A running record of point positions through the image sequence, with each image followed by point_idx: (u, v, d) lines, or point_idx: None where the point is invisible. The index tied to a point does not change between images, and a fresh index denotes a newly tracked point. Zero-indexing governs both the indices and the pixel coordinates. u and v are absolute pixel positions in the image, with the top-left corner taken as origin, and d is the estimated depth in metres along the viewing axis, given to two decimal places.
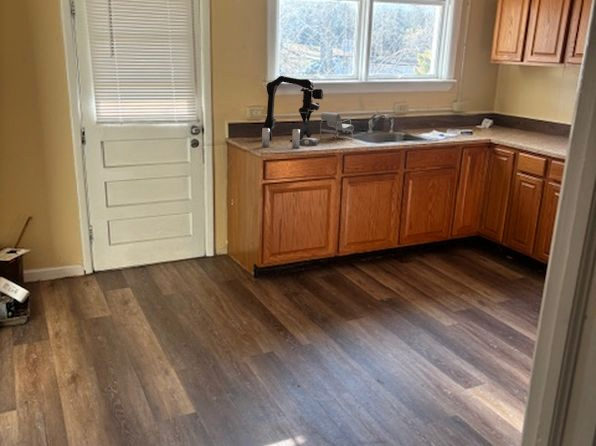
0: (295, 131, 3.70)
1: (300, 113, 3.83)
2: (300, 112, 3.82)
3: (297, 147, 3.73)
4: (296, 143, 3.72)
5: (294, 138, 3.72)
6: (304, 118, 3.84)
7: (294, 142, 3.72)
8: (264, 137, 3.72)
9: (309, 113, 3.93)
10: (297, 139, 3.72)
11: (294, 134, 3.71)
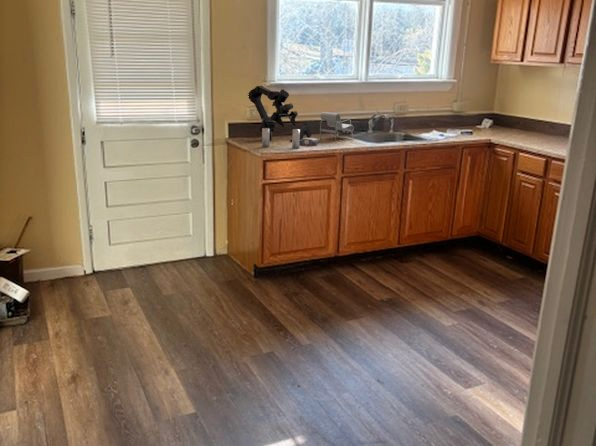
0: (295, 131, 3.70)
1: (275, 121, 3.77)
2: (274, 120, 3.77)
3: (297, 147, 3.73)
4: (296, 143, 3.72)
5: (294, 138, 3.72)
6: (280, 122, 3.75)
7: (294, 142, 3.72)
8: (264, 137, 3.72)
9: (292, 118, 3.82)
10: (297, 139, 3.72)
11: (294, 134, 3.71)
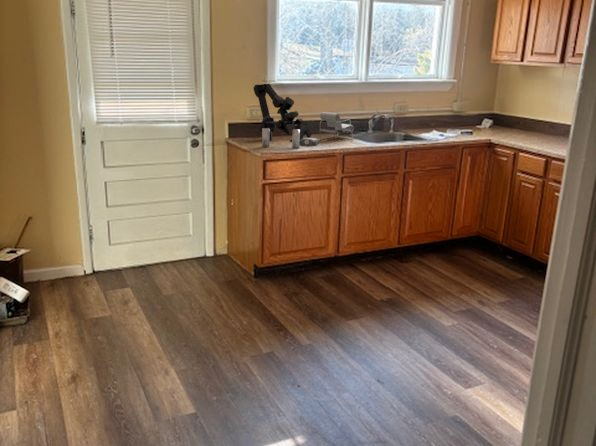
0: (295, 131, 3.70)
1: None
2: None
3: (297, 147, 3.73)
4: (296, 143, 3.72)
5: (294, 138, 3.72)
6: (285, 130, 3.72)
7: (294, 142, 3.72)
8: (264, 137, 3.72)
9: (298, 126, 3.78)
10: (297, 139, 3.72)
11: (294, 134, 3.71)
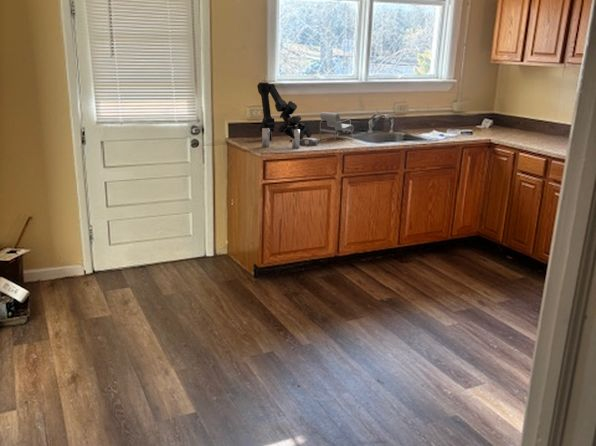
0: (295, 131, 3.70)
1: (285, 133, 3.74)
2: (284, 132, 3.73)
3: (297, 147, 3.73)
4: (296, 143, 3.72)
5: (294, 138, 3.72)
6: (291, 134, 3.71)
7: (294, 142, 3.72)
8: (264, 137, 3.72)
9: None
10: (297, 139, 3.72)
11: (294, 134, 3.71)
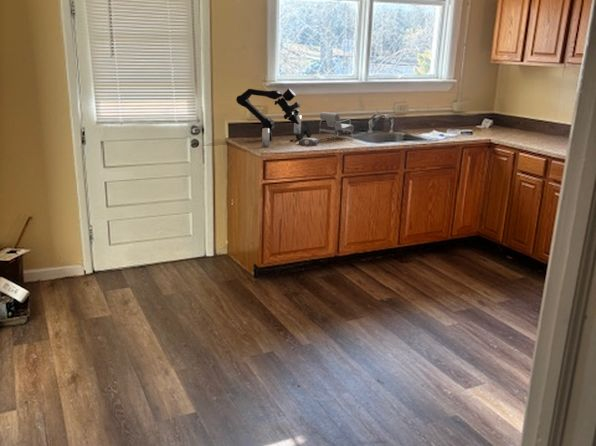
0: (299, 117, 3.88)
1: (289, 119, 3.88)
2: (288, 118, 3.87)
3: (300, 132, 3.93)
4: (299, 128, 3.91)
5: (298, 124, 3.90)
6: (295, 120, 3.88)
7: (298, 127, 3.90)
8: (264, 137, 3.72)
9: None
10: (300, 124, 3.91)
11: (298, 120, 3.89)
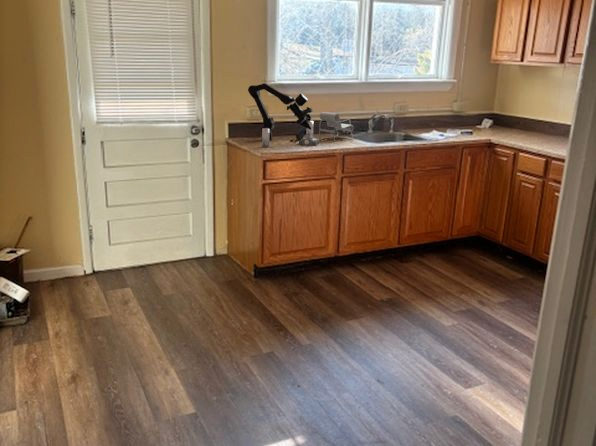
0: (312, 123, 3.88)
1: (301, 124, 3.86)
2: None
3: (312, 138, 3.92)
4: (312, 134, 3.91)
5: (310, 129, 3.89)
6: (307, 125, 3.86)
7: (310, 133, 3.90)
8: (264, 137, 3.72)
9: None
10: (312, 130, 3.90)
11: (310, 125, 3.88)
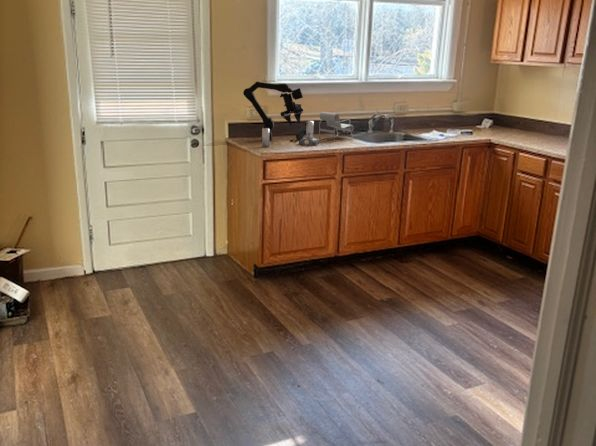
0: (312, 123, 3.88)
1: (296, 115, 3.89)
2: (296, 113, 3.88)
3: (312, 138, 3.92)
4: (312, 134, 3.91)
5: (310, 129, 3.89)
6: (299, 119, 3.92)
7: (310, 133, 3.90)
8: (264, 137, 3.72)
9: (289, 117, 4.00)
10: (312, 130, 3.90)
11: (310, 125, 3.88)
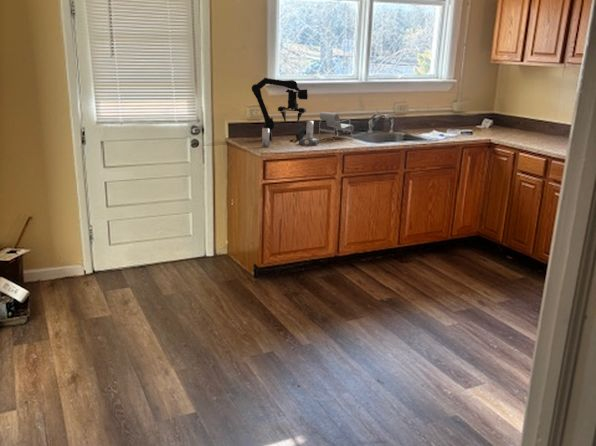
0: (311, 123, 3.88)
1: (300, 114, 3.94)
2: (301, 113, 3.93)
3: (312, 138, 3.92)
4: (312, 134, 3.91)
5: (310, 129, 3.89)
6: (299, 118, 3.97)
7: (310, 133, 3.90)
8: (264, 137, 3.72)
9: (285, 113, 4.00)
10: (312, 130, 3.90)
11: (310, 125, 3.88)
